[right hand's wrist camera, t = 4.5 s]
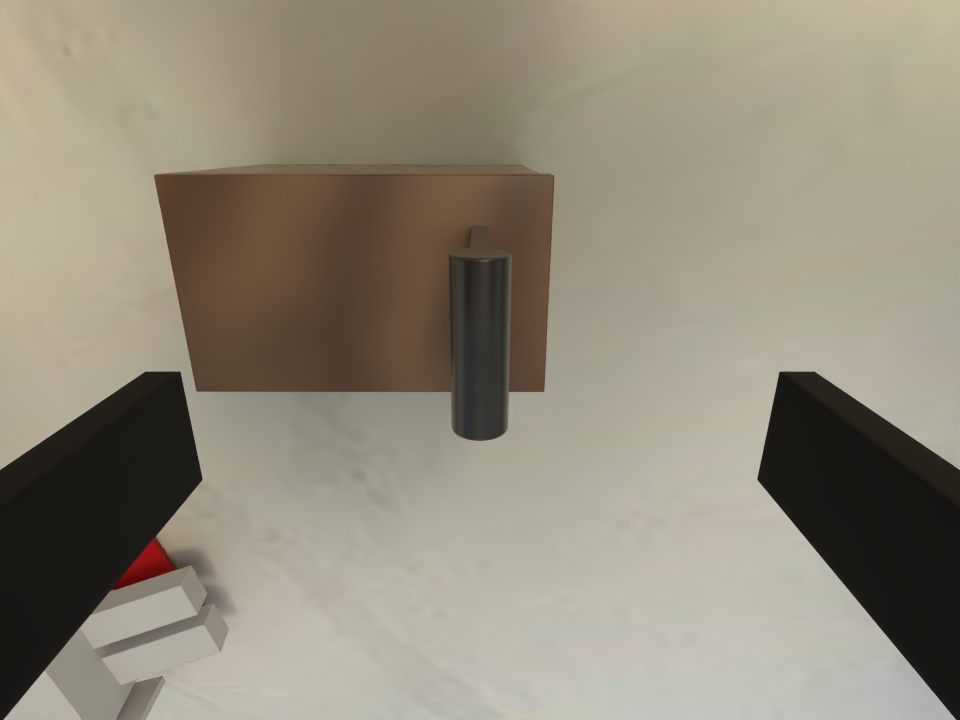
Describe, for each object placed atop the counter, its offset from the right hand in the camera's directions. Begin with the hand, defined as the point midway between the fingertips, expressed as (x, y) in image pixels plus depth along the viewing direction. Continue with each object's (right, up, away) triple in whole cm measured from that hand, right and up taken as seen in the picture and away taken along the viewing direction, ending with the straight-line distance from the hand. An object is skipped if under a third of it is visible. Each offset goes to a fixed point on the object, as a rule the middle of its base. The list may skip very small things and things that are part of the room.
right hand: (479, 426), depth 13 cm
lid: (-5, +5, +13) cm, 15 cm away
